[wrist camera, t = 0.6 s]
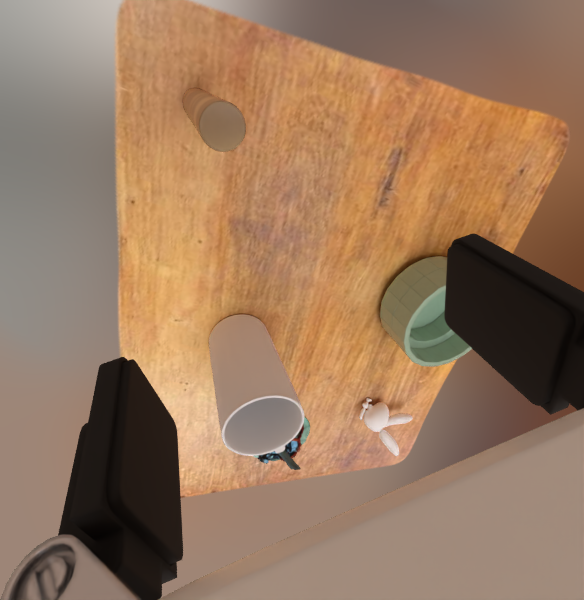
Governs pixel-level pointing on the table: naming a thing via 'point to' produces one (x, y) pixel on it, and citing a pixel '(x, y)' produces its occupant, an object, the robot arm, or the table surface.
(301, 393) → the table surface
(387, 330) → the bowl
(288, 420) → the mug
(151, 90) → the table surface
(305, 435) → the dish
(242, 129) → the stick
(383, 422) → the rabbit figurine
